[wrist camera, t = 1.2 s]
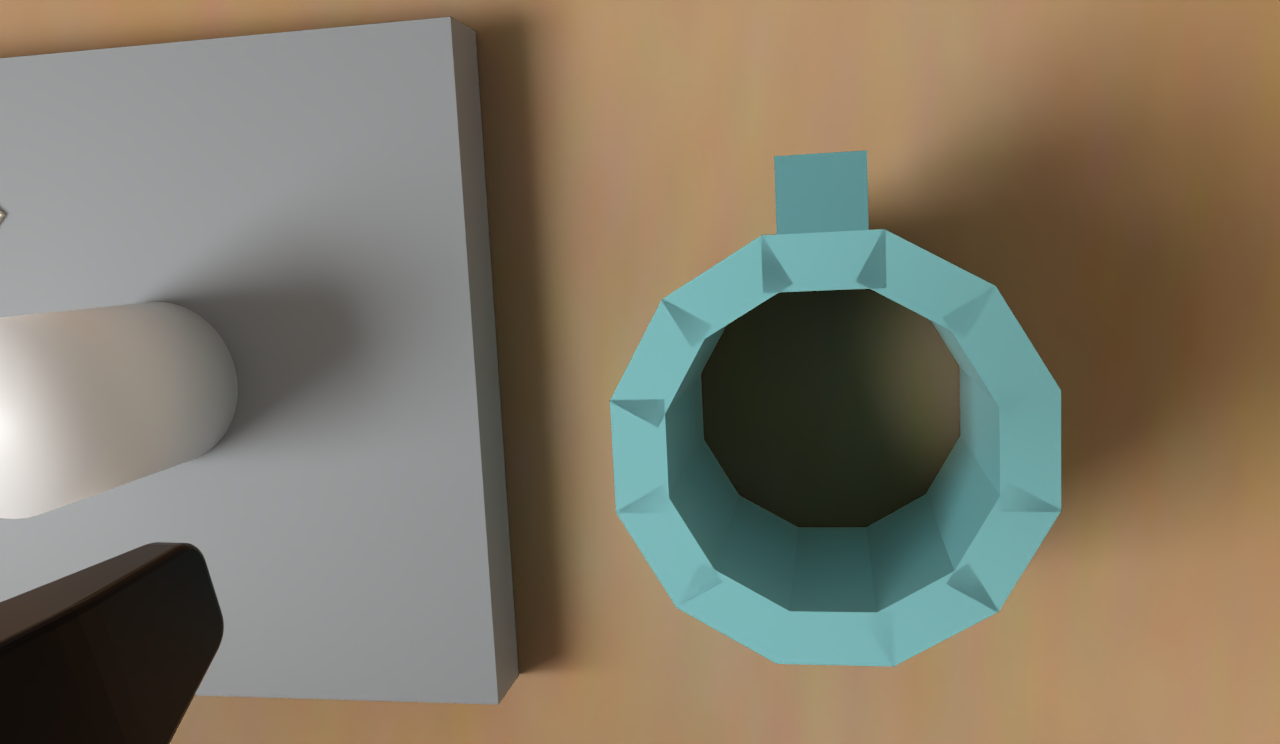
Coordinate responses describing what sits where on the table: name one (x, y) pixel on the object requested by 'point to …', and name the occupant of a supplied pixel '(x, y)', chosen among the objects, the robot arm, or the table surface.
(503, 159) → the table surface
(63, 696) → the robot arm
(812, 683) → the table surface
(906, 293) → the mug with handle
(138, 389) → the flat gray panel
